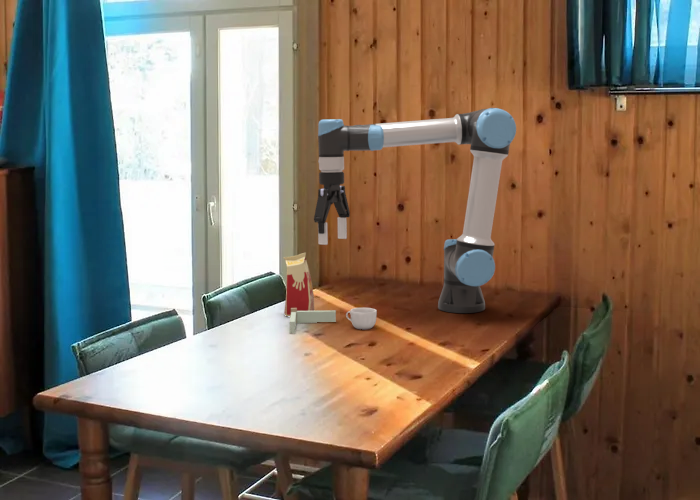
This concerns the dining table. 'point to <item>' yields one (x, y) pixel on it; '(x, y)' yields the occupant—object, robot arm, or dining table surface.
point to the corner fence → (310, 317)
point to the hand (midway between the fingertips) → (332, 241)
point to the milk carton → (298, 285)
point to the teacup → (362, 317)
